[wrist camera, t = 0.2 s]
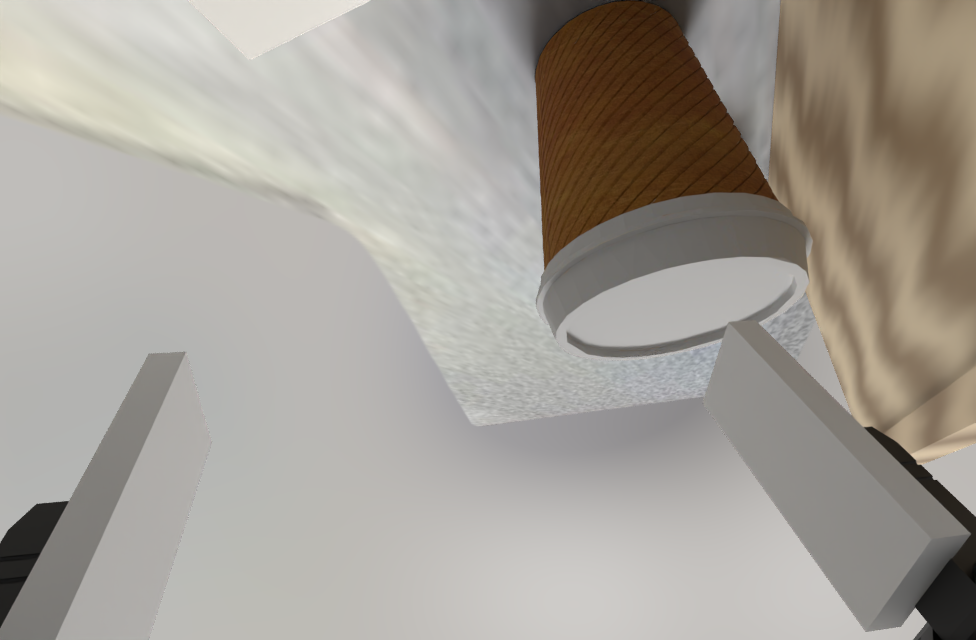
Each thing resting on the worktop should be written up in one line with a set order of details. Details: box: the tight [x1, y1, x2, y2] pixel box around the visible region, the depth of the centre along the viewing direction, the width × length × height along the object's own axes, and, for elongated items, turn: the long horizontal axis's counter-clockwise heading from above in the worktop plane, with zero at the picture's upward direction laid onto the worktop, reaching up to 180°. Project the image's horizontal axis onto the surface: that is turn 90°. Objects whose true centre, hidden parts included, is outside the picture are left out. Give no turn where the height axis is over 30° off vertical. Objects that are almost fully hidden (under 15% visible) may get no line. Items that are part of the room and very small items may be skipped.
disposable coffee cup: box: [535, 0, 813, 361], centre depth 23 cm, size 10×10×12 cm
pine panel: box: [768, 0, 976, 465], centre depth 22 cm, size 25×2×17 cm, turn 22°
